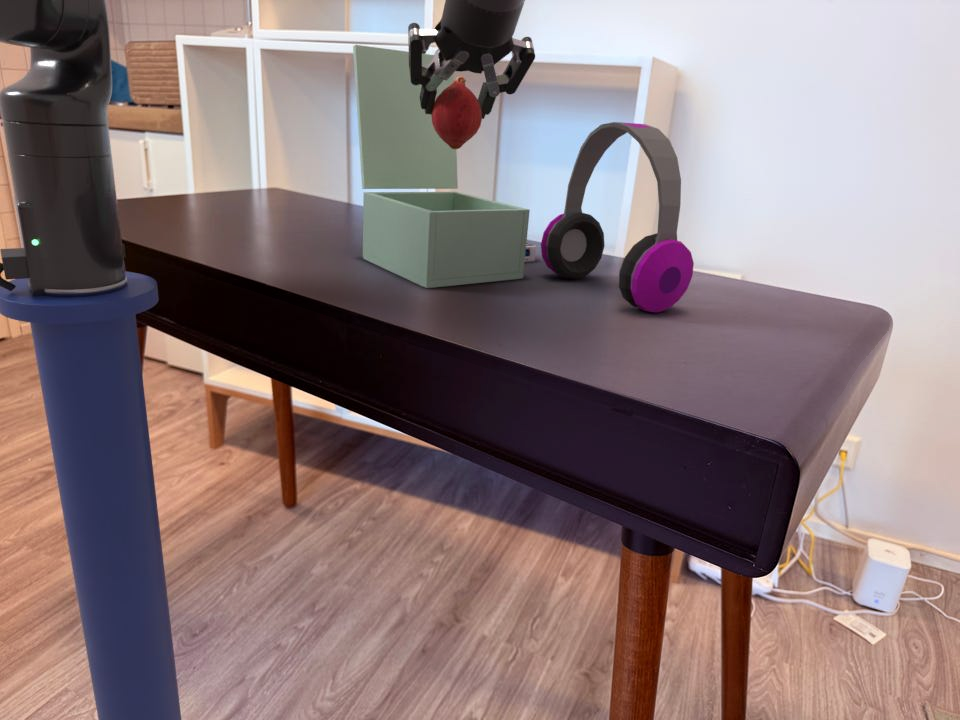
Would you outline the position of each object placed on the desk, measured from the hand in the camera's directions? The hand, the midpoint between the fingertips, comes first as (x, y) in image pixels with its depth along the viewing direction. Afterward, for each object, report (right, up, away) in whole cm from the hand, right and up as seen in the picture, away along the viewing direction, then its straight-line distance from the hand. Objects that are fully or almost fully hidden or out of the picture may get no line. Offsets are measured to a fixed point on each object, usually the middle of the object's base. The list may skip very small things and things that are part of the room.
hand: (454, 110), depth 79 cm
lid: (-6, +3, +11) cm, 13 cm away
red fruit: (0, -5, 0) cm, 5 cm away
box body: (-2, -17, +10) cm, 20 cm away
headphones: (+19, -21, +4) cm, 29 cm away
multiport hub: (+6, -14, +22) cm, 27 cm away
